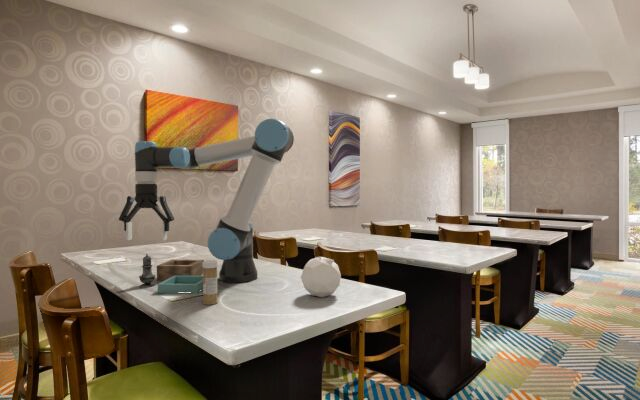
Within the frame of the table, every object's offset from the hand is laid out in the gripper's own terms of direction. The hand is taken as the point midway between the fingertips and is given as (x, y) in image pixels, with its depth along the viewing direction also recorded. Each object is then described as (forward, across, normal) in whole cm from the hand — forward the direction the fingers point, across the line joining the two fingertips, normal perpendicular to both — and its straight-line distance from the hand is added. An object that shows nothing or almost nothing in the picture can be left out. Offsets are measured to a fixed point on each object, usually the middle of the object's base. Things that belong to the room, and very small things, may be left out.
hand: (146, 240), depth 152 cm
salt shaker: (+17, 0, 0) cm, 17 cm away
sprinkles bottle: (+17, -32, +22) cm, 42 cm away
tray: (+17, -16, +4) cm, 24 cm away
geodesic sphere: (+17, -66, +11) cm, 69 cm away
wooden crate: (+17, -7, -14) cm, 23 cm away
